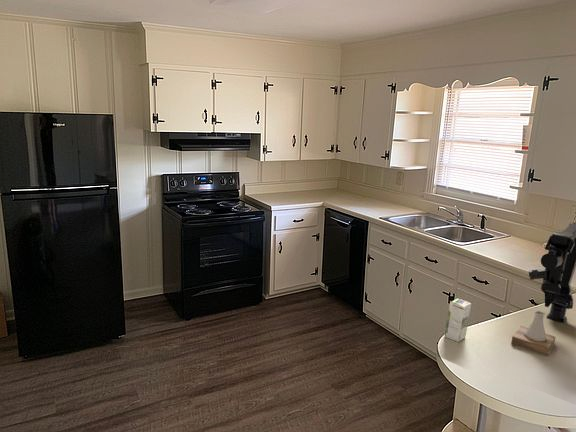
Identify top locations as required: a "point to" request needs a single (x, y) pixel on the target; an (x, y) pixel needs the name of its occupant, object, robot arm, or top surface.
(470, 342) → the top surface
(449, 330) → the syrup box
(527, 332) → the flask
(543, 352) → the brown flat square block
